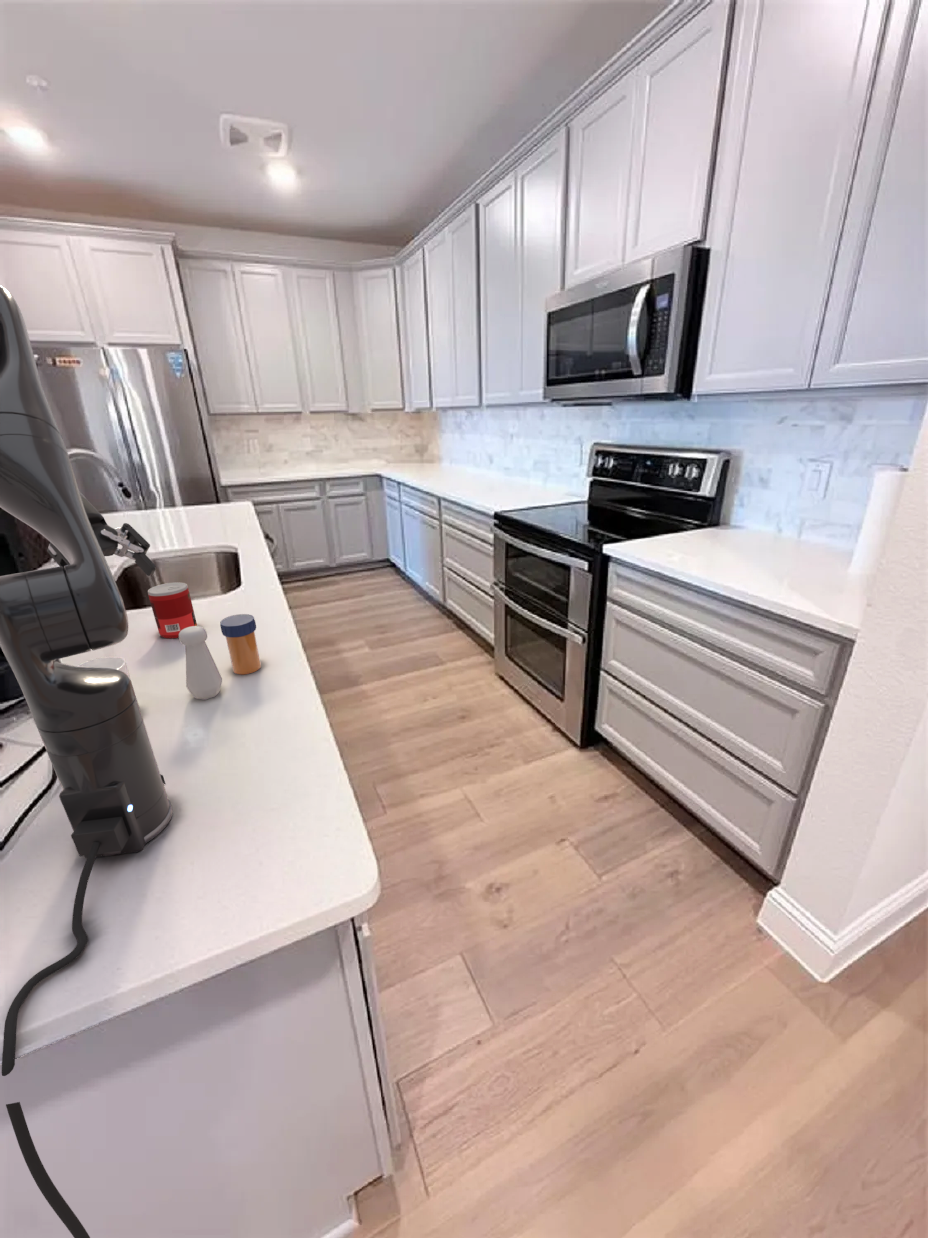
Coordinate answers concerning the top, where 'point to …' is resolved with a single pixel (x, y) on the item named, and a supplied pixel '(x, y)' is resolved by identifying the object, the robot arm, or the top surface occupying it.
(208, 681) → the salt shaker
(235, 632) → the lid
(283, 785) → the top surface
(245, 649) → the jar
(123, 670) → the white cup
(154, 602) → the canned food
